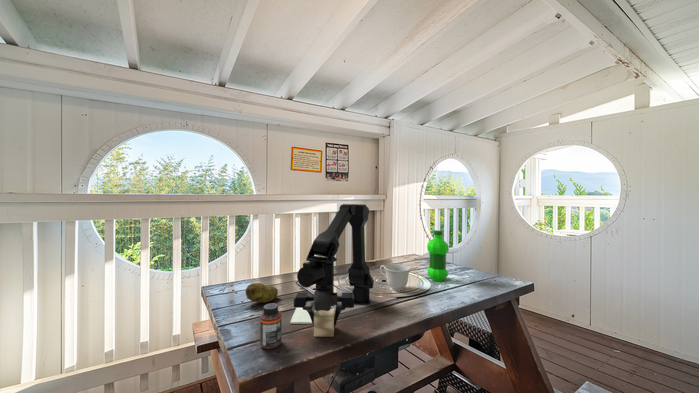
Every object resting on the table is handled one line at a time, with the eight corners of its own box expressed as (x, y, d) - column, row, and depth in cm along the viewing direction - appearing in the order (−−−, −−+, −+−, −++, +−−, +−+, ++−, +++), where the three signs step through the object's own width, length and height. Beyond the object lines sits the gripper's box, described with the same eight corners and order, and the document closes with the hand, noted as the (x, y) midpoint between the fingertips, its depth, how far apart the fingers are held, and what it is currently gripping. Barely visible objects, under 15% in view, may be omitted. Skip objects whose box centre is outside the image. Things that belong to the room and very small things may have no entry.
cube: (334, 326, 88) (334, 308, 88) (333, 336, 82) (333, 317, 82) (316, 326, 88) (316, 308, 88) (313, 336, 82) (313, 317, 82)
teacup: (386, 281, 134) (386, 261, 134) (414, 287, 125) (414, 266, 125) (373, 288, 124) (373, 266, 124) (403, 295, 115) (404, 272, 115)
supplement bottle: (262, 338, 81) (262, 301, 81) (282, 338, 82) (283, 301, 81) (257, 350, 75) (257, 310, 75) (279, 349, 76) (279, 309, 75)
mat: (328, 308, 102) (328, 306, 102) (325, 324, 90) (325, 322, 90) (296, 308, 102) (296, 306, 102) (290, 323, 90) (290, 322, 90)
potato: (280, 302, 107) (280, 283, 107) (246, 308, 102) (246, 287, 102) (276, 295, 115) (276, 277, 115) (244, 300, 109) (244, 281, 109)
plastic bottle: (428, 282, 132) (429, 232, 132) (425, 276, 143) (426, 229, 142) (449, 284, 131) (450, 232, 130) (445, 277, 141) (446, 229, 141)
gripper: (289, 286, 77) (289, 340, 77) (354, 286, 77) (354, 340, 77) (297, 274, 88) (296, 321, 88) (353, 274, 88) (353, 321, 88)
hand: (324, 326), depth 85 cm, fingers closed on cube, 6 cm apart
